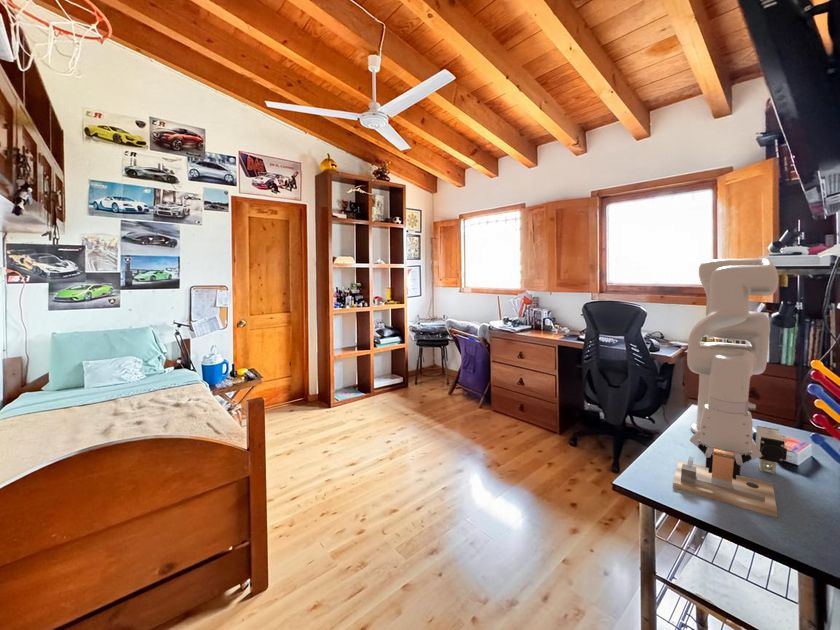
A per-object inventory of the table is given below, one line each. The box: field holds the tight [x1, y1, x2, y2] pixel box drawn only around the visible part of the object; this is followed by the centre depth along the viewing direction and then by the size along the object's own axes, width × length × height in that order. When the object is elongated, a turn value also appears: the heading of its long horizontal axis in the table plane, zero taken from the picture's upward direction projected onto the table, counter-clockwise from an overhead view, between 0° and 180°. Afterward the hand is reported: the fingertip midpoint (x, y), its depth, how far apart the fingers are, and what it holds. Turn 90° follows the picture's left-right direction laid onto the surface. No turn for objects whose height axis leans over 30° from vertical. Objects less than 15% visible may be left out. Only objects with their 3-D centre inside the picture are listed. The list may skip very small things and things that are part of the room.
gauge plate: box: [672, 455, 778, 518], centre depth 98 cm, size 14×20×5 cm
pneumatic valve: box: [754, 425, 788, 475], centre depth 105 cm, size 6×12×12 cm, turn 144°
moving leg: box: [711, 448, 735, 489], centre depth 97 cm, size 9×4×9 cm, turn 140°
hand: (722, 473), depth 95 cm, fingers closed on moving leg, 4 cm apart
